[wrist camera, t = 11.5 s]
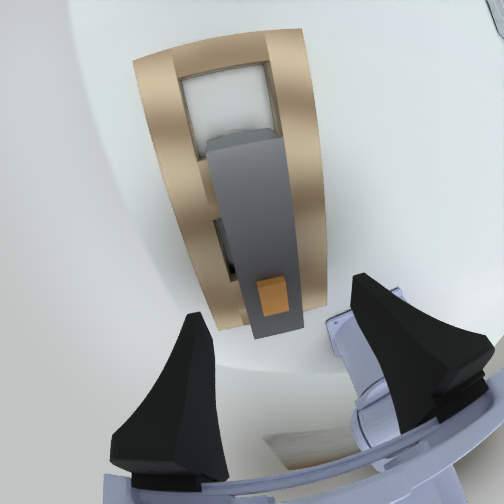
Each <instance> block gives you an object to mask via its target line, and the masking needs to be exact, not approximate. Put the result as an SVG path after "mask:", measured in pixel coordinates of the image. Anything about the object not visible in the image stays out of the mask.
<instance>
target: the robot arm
mask: <svg viewBox="0 0 504 504" xmlns="http://www.w3.org/2000/svg"><path fill="white" fill-rule="evenodd" d="M350 307H351V309H352V310H351V311H349V312H347V313H344V314H342V315H340V316H337V317H335V318H333V319H330V320H328V321H327V328H328V331H329V335H330V339H331V342H332V346H333V350H334V353H335V356H336V357H341V356H342V359H343V361H344V364H345V366H346V368H347V371H348V373H349V375H350V378H351V380H352V383H353V385H354V388H355V390H356V393H357V395H358V397H359V398H358V399H357V400H355V404H356V406H357V409H355V410H354V411H353V413H352V417H351V430H352V433H353V436H354V439H355V441H356V443H357V445H358V446H359V448H360V449H361V451H362V452H359V453H357V454H354V455H351V456H348V457H345V458H342V459H339V460H336V461H333V462H329V463H326V464H322V465H319V466H315V467H311V468H307V469H303V470H299V471H295V472H290V473H285V474H280V475H274V476H269V477H263V478H256V479H249V480H240V481H229V482H225V481H226V480H227V479H228V478H229V473H228V470H227V465H226V461H225V456H224V452H223V447H222V442H221V437H220V430H219V425H218V417H217V411H216V398H215V354H214V346H213V339H212V337H211V335H210V332H209V330H208V328H207V326H206V323H205V321H204V319H203V317H202V314H201V312H195V313H190V314H187V316H186V318H185V321H184V323H183V326H182V329H181V331H180V334H179V336H178V339H177V341H176V343H175V346H174V348H173V350H172V353H171V355H170V357H169V359H168V361H167V363H166V365H165V367H164V369H163V371H162V372H161V374H160V376H159V378H158V379H157V381H156V383H155V384H154V386H153V387H152V389H151V390H150V392H149V393H148V395H147V396H146V398H145V399H144V400H143V402H142V403H141V404H140V406H139V407H138V408H137V409H136V411H135V412H134V413H133V414H132V415H131V417H130V418H129V419H128V420H127V421H126V422H125V423H124V424H123V425H122V426H121V427H120V428H119V429H118V430H117V431H116V432H115V433H114V434H113V435H112V440H111V449H110V462H111V463H112V464H113V465H115V466H117V467H119V468H122V469H124V470H126V471H129V472H131V473H132V478H130V477H125V476H118V475H111V474H104V484H103V486H104V487H103V504H468V502H467V499H466V496H465V494H464V491H463V489H462V486H461V483H460V481H459V479H458V476H457V474H456V472H455V469H454V467H453V463H455V462H456V461H458V460H459V459H460V458H462V457H463V456H464V455H466V454H467V453H468V452H470V451H471V450H472V449H473V448H475V447H476V446H477V445H478V444H480V443H481V442H482V441H483V440H484V439H485V438H487V437H488V436H489V435H490V434H491V433H492V432H493V431H494V430H495V429H497V428H498V427H499V426H500V425H501V424H502V423H503V422H504V368H503V367H502V368H501V369H499V370H498V371H497V372H496V373H494V374H493V375H492V376H491V377H489V378H488V379H487V380H486V381H485V380H484V379H483V377H484V376H485V373H484V371H483V370H482V369H483V368H484V367H485V365H486V364H487V363H488V361H489V360H490V359H491V357H492V356H493V354H494V352H495V348H494V346H493V345H492V343H491V342H490V341H489V339H488V338H487V337H486V335H482V334H478V333H474V332H470V331H466V330H463V329H460V328H457V327H454V326H452V325H449V324H447V323H444V322H442V321H440V320H437V319H435V318H433V317H431V316H429V315H427V314H425V313H424V312H422V311H420V310H418V309H416V308H415V307H413V306H411V305H410V304H408V303H407V302H406V300H405V299H404V297H403V296H402V290H401V289H400V288H398V289H396V290H394V291H392V292H390V291H389V290H388V289H386V288H385V287H383V286H382V285H381V284H379V283H378V282H377V281H375V280H374V279H372V278H371V277H370V276H368V275H367V274H365V273H361V274H357V275H354V276H353V281H352V293H351V304H350ZM369 464H372V465H373V467H375V468H376V470H377V471H379V472H381V473H379V474H376V475H374V476H371V477H369V478H366V479H363V480H361V481H358V482H355V483H352V484H349V485H346V486H343V487H340V488H337V489H333V490H330V491H327V492H323V493H320V494H316V495H312V496H308V497H304V498H299V499H295V500H290V501H286V502H280V503H275V498H273V497H268V496H266V495H263V496H252V497H238V498H236V497H234V496H237V495H247V494H256V493H262V492H269V491H275V490H281V489H286V488H291V487H296V486H300V485H305V484H309V483H313V482H317V481H320V480H324V479H328V478H331V477H334V476H338V475H341V474H344V473H347V472H350V471H353V470H355V469H358V468H361V467H364V466H366V465H369Z"/></svg>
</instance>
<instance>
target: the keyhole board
mask: <svg viewBox="0 0 504 504" xmlns="http://www.w3.org/2000/svg"><path fill="white" fill-rule="evenodd" d="M261 64H263V65H264V70H265V75H266V81H267V86H268V91H269V97H270V103H271V108H272V114H273V120H274V126H275V132H276V133H278V134H279V135H281V136H282V137H284V144H285V151H286V158H287V165H288V172H289V179H290V187H291V195H292V203H293V212H294V220H295V229H296V239H297V249H298V259H299V270H300V281H301V293H302V306H303V311H307V310H311V309H315V308H318V307H322V306H326V305H327V242H326V217H325V199H324V184H323V172H322V160H321V150H320V140H319V131H318V123H317V115H316V108H315V100H314V94H313V87H312V81H311V75H310V69H309V63H308V58H307V52H306V47H305V42H304V37H303V32H302V29H281V30H267V31H257V32H249V33H241V34H234V35H228V36H222V37H217V38H212V39H207V40H202V41H198V42H194V43H189V44H185V45H182V46H178V47H174V48H171V49H167V50H164V51H161V52H157V53H154V54H151V55H148V56H145V57H142V58H140V59H137V60H134V61H133V66H134V70H135V75H136V79H137V83H138V88H139V92H140V96H141V100H142V104H143V108H144V112H145V116H146V120H147V123H148V127H149V131H150V134H151V138H152V142H153V145H154V149H155V152H156V156H157V159H158V162H159V166H160V169H161V172H162V176H163V179H164V182H165V185H166V189H167V192H168V195H169V198H170V201H171V204H172V207H173V210H174V213H175V216H176V219H177V222H178V225H179V228H180V231H181V234H182V237H183V240H184V242H185V245H186V248H187V251H188V254H189V256H190V259H191V262H192V264H193V267H194V270H195V273H196V275H197V278H198V280H199V283H200V286H201V288H202V291H203V293H204V296H205V298H206V301H207V304H208V306H209V309H210V311H211V313H212V316H213V318H214V321H215V323H216V326H217V328H218V330H224V329H229V328H234V327H239V326H244V325H248V324H250V321H249V318H248V314H247V311H246V307H245V304H244V300H243V296H242V293H241V289H240V285H239V282H238V278H237V274H236V273H233V274H231V272H230V269H229V265H228V262H227V258H226V255H225V251H224V248H223V244H222V240H221V237H220V233H219V229H218V226H217V222H216V219H219V218H221V214H220V210H219V206H218V202H217V198H216V194H215V190H214V186H213V182H212V178H211V174H210V170H209V166H208V162H207V158H206V157H202V158H200V157H199V153H198V149H197V145H196V141H195V137H194V133H193V129H192V125H191V121H190V116H189V112H188V108H187V104H186V100H185V95H184V91H183V87H182V82H181V80H185V79H188V78H192V77H196V76H200V75H205V74H209V73H214V72H219V71H224V70H229V69H234V68H240V67H246V66H253V65H261Z"/></svg>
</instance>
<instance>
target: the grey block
mask: <svg viewBox="0 0 504 504" xmlns="http://www.w3.org/2000/svg"><path fill="white" fill-rule="evenodd" d="M205 154H206V158H207V162H208V166H209V170H210V174H211V178H212V182H213V186H214V190H215V194H216V198H217V202H218V206H219V210H220V214H221V218H222V222H223V226H224V229H225V233H226V237H227V241H228V245H229V248H230V252H231V256H232V260H233V263H234V267H235V271H236V274H237V278H238V282H239V285H240V289H241V293H242V296H243V300H244V304H245V307H246V311H247V314H248V318H249V321H250V325H251V328H252V332H253V335H254V339H259V338H263V337H268V336H272V335H277V334H281V333H285V332H289V331H293V330H297V329H301V328H304V321H303V306H302V293H301V281H300V270H299V259H298V249H297V239H296V229H295V220H294V212H293V203H292V195H291V187H290V179H289V172H288V165H287V158H286V151H285V144H284V137H282V136H281V135H279V134H278V133H276V132H274V131H273V130H271V129H269V128H265V129H260V130H254V131H247V130H242V129H237V130H232V131H229V132H227V133H226V134H224V135H223V136H222V137H220V138H216V139H211V140H207V143H206V151H205Z"/></svg>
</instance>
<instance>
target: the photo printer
mask: <svg viewBox="0 0 504 504" xmlns="http://www.w3.org/2000/svg"><path fill="white" fill-rule="evenodd" d="M487 1H488V3H489V6H490V9H491V12H492V15H493V18H494V21H495V23H496V26H497V29H498V32H499V34H500V35H501V36H502V37H503V38H504V0H487Z"/></svg>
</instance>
